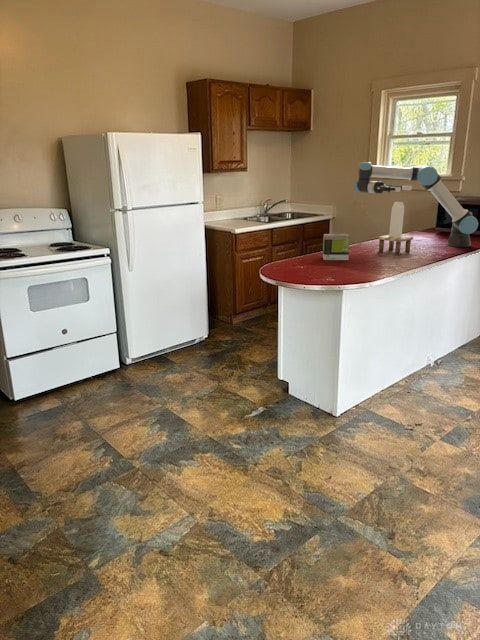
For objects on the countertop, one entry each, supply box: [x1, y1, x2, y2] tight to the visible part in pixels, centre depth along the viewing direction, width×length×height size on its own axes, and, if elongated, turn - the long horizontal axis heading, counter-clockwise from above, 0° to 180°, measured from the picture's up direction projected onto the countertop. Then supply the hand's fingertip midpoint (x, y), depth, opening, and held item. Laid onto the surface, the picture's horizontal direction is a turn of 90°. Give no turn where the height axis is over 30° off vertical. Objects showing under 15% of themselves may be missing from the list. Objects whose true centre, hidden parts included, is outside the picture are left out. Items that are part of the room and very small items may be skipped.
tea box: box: [322, 233, 351, 261], centre depth 299 cm, size 15×10×15 cm, turn 84°
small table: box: [377, 234, 414, 256], centre depth 319 cm, size 16×16×10 cm
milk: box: [388, 201, 405, 238], centre depth 314 cm, size 6×6×22 cm
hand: (406, 188), depth 308 cm, fingers open, 13 cm apart
